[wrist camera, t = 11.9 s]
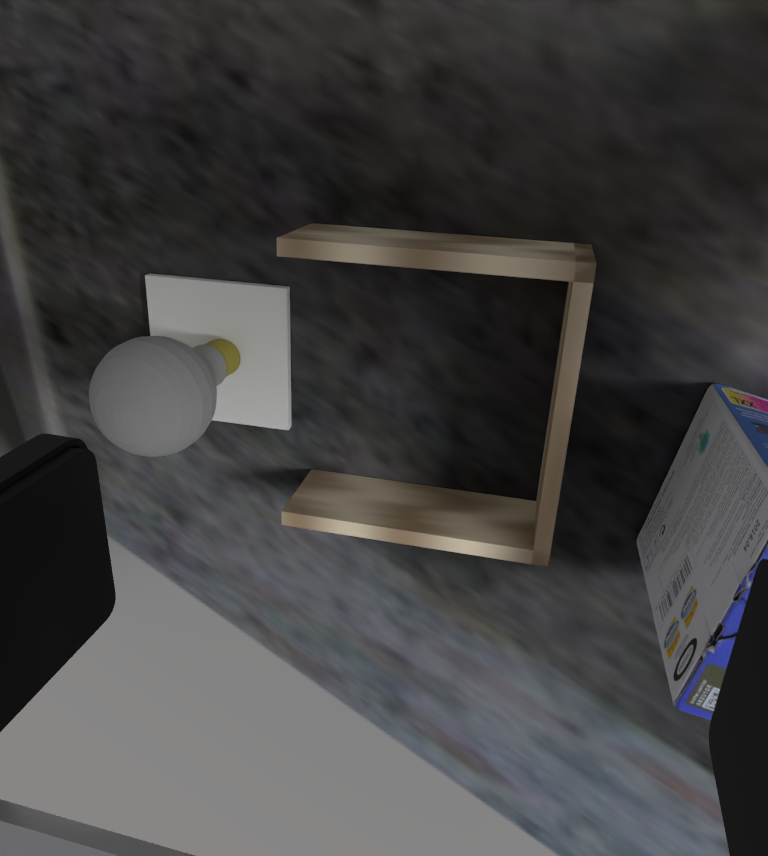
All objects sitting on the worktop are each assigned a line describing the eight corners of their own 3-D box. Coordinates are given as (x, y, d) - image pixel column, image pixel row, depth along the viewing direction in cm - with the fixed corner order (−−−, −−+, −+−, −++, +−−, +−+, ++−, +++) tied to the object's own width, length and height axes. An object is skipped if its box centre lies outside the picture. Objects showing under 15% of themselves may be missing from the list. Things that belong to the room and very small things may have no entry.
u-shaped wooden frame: (591, 244, 33) (596, 263, 29) (549, 515, 39) (548, 567, 35) (312, 223, 36) (276, 237, 31) (311, 481, 42) (281, 524, 37)
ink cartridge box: (734, 576, 38) (824, 811, 25) (631, 544, 39) (669, 757, 26) (825, 413, 34) (989, 595, 21) (708, 379, 35) (799, 536, 22)
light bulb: (166, 322, 39) (40, 376, 30) (248, 290, 37) (139, 338, 28) (207, 412, 41) (99, 488, 32) (289, 385, 39) (197, 459, 30)
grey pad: (289, 286, 37) (286, 288, 37) (291, 426, 41) (288, 430, 40) (149, 273, 39) (144, 275, 38) (162, 409, 42) (157, 412, 42)
